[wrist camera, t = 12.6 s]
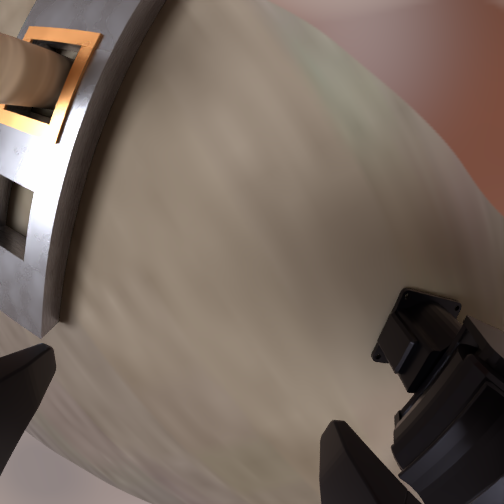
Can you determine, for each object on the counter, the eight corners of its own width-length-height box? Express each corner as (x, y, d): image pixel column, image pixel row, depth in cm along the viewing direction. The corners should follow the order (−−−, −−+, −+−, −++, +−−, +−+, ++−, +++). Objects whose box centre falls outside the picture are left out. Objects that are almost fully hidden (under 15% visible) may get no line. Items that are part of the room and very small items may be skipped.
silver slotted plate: (73, -17, 14) (53, -32, 10) (171, -9, 15) (158, -31, 12) (-12, 273, 22) (-33, 286, 18) (58, 321, 23) (39, 340, 19)
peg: (95, 68, 16) (-58, 16, 3) (69, 117, 18) (-94, 112, 4) (61, 55, 16) (-78, 14, 3) (38, 101, 17) (-108, 93, 4)
